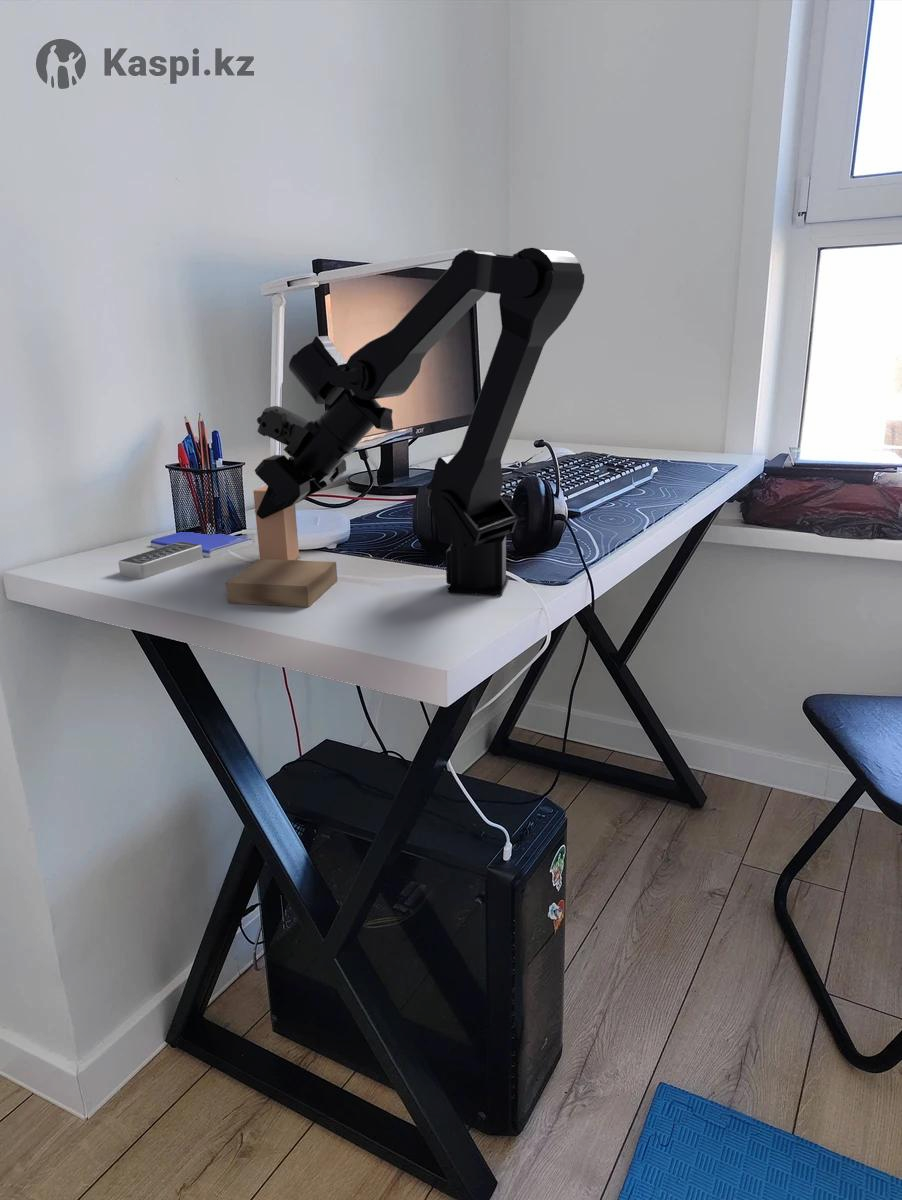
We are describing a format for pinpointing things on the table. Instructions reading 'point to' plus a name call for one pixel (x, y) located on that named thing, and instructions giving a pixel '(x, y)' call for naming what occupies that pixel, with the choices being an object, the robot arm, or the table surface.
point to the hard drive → (204, 542)
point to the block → (276, 531)
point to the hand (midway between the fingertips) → (266, 512)
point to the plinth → (282, 582)
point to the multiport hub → (160, 560)
